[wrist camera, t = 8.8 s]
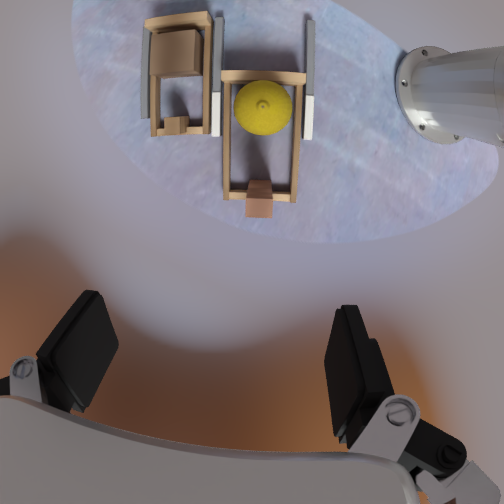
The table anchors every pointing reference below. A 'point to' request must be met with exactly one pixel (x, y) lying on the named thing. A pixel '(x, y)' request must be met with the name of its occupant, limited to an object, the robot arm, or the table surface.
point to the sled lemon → (258, 190)
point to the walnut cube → (177, 54)
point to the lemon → (263, 107)
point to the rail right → (145, 74)
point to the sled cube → (203, 23)
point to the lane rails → (219, 83)
